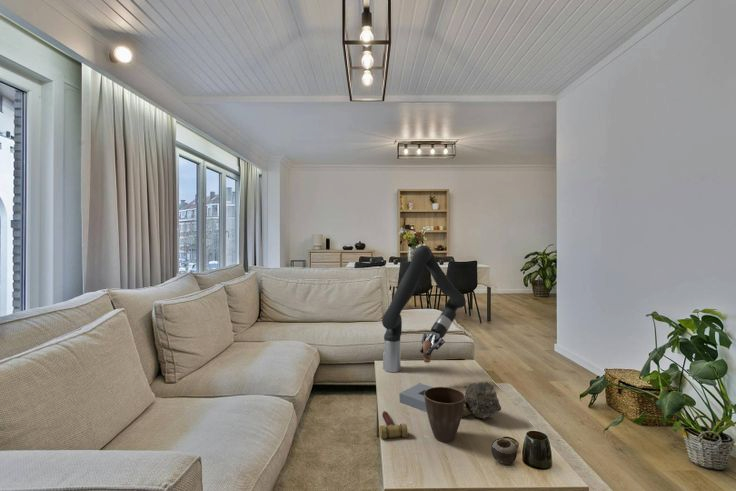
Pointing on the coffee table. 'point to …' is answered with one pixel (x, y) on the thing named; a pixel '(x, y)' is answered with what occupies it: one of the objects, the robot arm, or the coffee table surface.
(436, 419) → the plant pot
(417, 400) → the slate socket board
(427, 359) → the cherry peg
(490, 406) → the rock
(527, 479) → the coffee table surface
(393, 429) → the gavel
